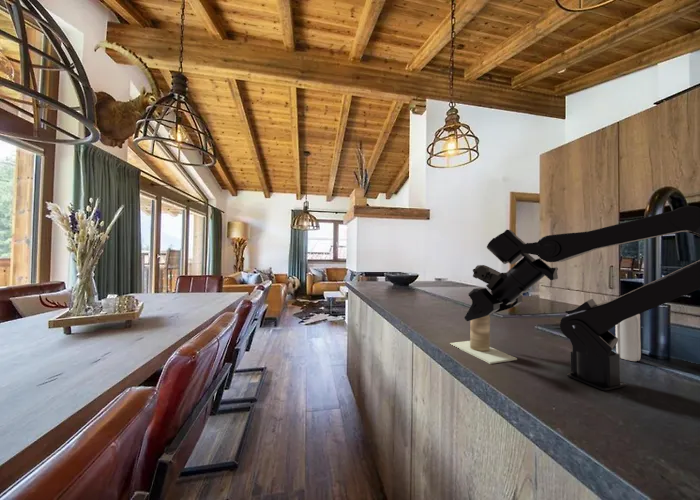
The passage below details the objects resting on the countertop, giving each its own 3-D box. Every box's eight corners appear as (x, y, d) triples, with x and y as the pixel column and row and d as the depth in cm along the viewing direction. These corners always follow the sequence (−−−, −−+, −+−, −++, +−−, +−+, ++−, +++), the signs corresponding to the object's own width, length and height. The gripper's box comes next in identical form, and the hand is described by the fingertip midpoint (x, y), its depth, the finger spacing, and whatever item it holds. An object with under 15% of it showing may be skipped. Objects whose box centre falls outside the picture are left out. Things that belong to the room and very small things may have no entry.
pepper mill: (492, 348, 70) (493, 303, 70) (484, 353, 67) (485, 305, 67) (475, 344, 73) (475, 300, 73) (466, 347, 70) (467, 302, 70)
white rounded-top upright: (616, 348, 72) (615, 301, 72) (640, 352, 68) (639, 304, 69) (615, 358, 64) (614, 307, 65) (641, 363, 61) (640, 309, 62)
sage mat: (517, 359, 64) (516, 358, 64) (490, 363, 61) (490, 362, 61) (473, 341, 77) (473, 340, 77) (450, 344, 75) (450, 343, 75)
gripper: (508, 254, 74) (469, 290, 82) (476, 254, 62) (435, 296, 70) (543, 285, 67) (497, 321, 76) (515, 292, 55) (464, 333, 64)
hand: (473, 317), depth 71 cm, fingers open, 8 cm apart
